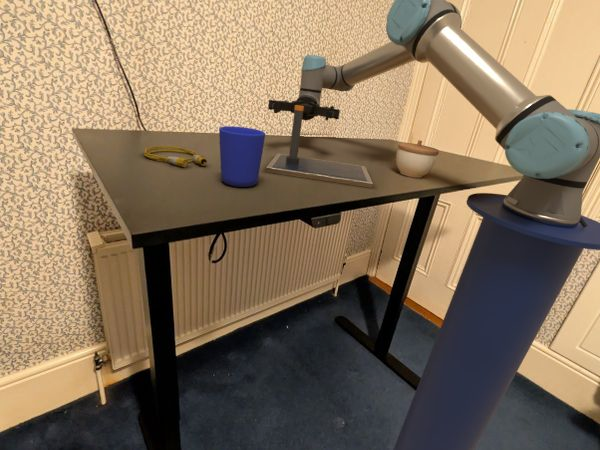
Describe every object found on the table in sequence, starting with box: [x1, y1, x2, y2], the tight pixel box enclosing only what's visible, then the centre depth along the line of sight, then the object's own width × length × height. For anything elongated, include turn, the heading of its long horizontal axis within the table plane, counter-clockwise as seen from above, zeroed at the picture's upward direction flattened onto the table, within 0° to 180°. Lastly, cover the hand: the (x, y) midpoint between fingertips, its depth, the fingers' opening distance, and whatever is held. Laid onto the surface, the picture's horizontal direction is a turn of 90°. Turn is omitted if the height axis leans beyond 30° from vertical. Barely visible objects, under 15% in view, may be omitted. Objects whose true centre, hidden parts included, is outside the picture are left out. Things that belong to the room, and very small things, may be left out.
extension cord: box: [144, 145, 208, 168], centre depth 72 cm, size 12×16×2 cm
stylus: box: [286, 105, 304, 164], centre depth 77 cm, size 3×3×13 cm
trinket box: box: [395, 139, 440, 179], centre depth 88 cm, size 11×11×9 cm
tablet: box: [265, 152, 374, 189], centre depth 80 cm, size 24×17×1 cm
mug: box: [218, 125, 266, 188], centre depth 62 cm, size 8×12×10 cm
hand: (301, 111), depth 84 cm, fingers open, 13 cm apart
